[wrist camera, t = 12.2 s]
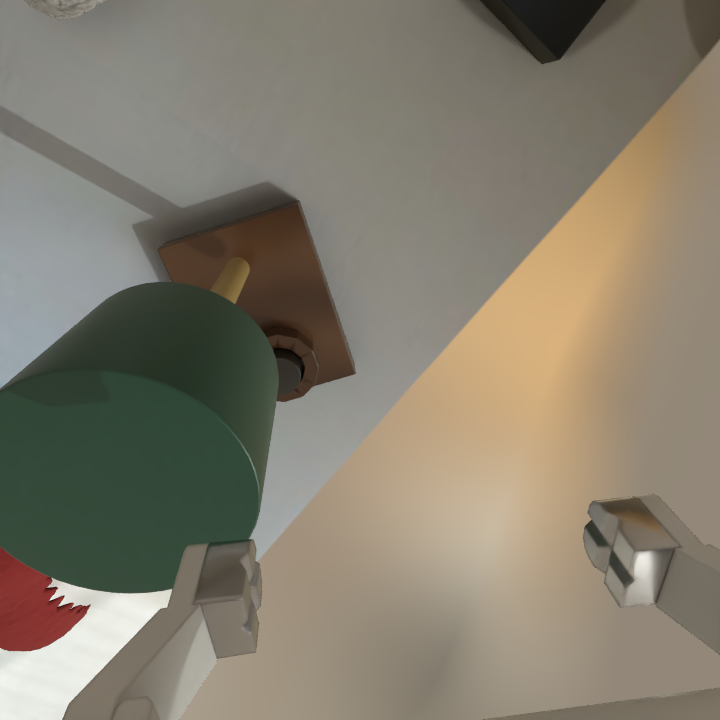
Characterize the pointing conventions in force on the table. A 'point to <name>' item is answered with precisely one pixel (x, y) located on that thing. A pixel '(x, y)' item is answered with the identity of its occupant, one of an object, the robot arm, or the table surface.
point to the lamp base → (273, 287)
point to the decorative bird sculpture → (31, 608)
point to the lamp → (138, 436)
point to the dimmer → (545, 23)
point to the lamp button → (287, 371)
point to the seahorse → (64, 7)
